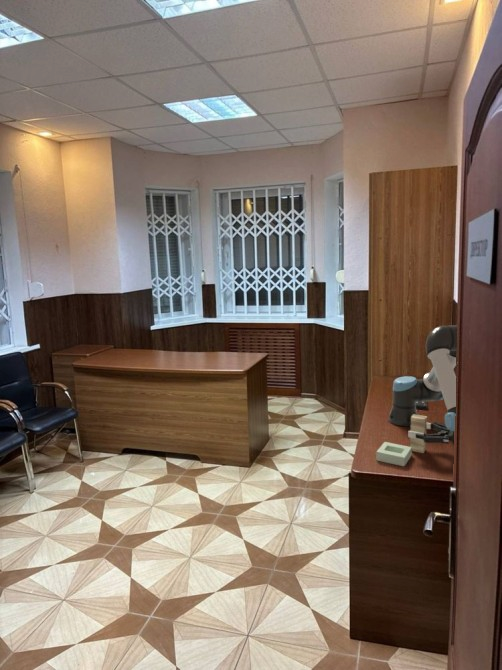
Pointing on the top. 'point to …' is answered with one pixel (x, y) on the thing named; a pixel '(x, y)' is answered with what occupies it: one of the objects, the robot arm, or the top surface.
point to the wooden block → (418, 426)
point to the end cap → (394, 453)
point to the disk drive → (421, 405)
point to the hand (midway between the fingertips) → (412, 428)
